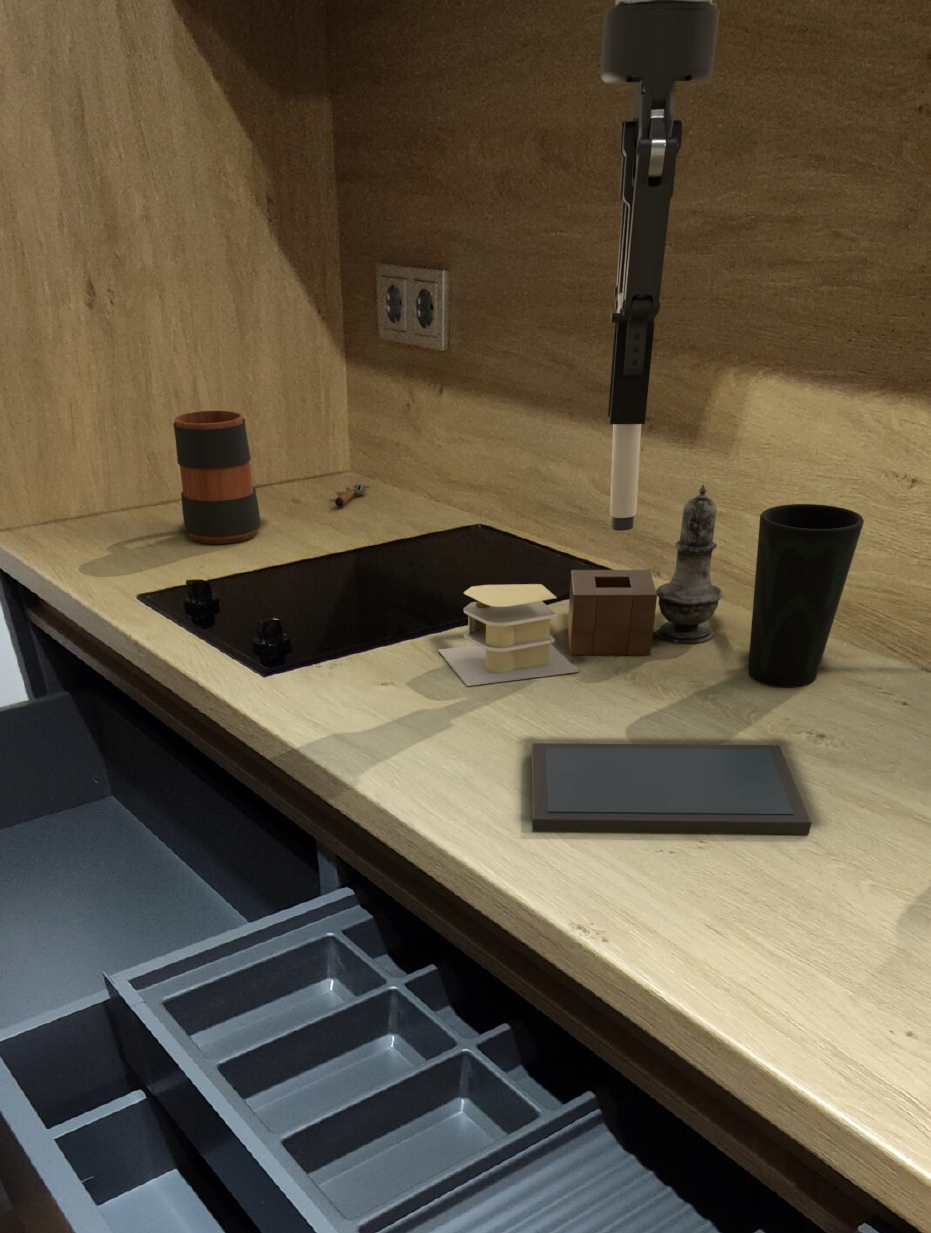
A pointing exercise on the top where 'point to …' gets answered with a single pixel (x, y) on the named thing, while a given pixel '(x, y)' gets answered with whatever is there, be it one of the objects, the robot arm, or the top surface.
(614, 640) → the holder
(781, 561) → the cup
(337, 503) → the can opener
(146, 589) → the top surface
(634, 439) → the stylus
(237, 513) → the mug
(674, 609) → the salt shaker
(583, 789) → the tablet
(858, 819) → the top surface
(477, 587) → the stacked layers on plate
